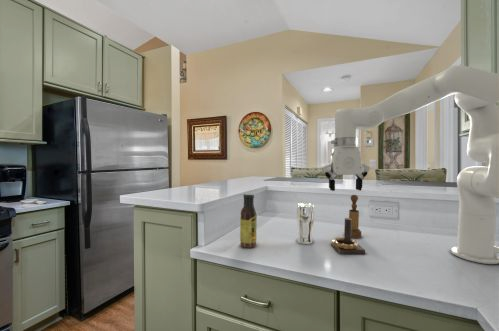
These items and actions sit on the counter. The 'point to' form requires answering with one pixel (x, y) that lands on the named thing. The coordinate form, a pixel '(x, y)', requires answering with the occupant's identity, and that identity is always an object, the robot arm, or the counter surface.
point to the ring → (344, 246)
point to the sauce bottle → (248, 222)
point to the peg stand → (348, 240)
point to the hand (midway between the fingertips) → (345, 190)
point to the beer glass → (305, 222)
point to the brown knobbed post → (354, 218)
